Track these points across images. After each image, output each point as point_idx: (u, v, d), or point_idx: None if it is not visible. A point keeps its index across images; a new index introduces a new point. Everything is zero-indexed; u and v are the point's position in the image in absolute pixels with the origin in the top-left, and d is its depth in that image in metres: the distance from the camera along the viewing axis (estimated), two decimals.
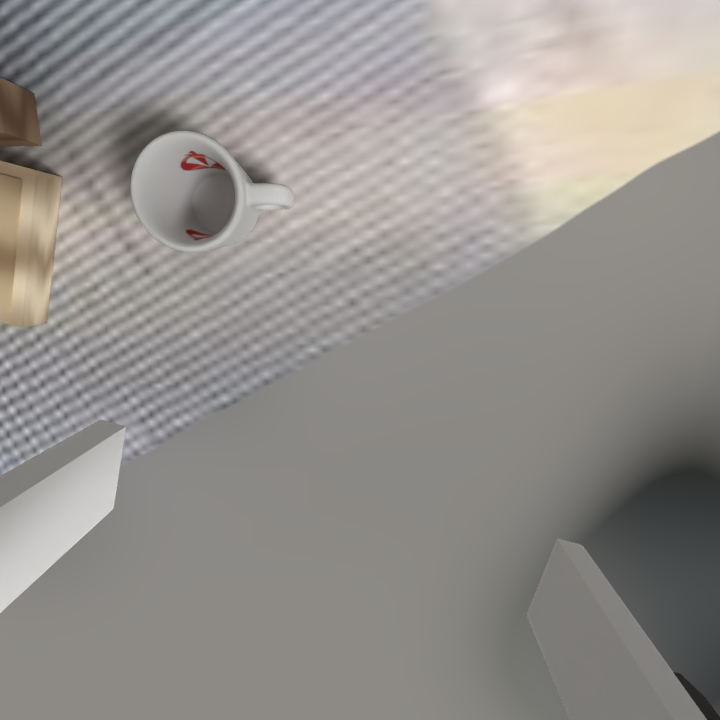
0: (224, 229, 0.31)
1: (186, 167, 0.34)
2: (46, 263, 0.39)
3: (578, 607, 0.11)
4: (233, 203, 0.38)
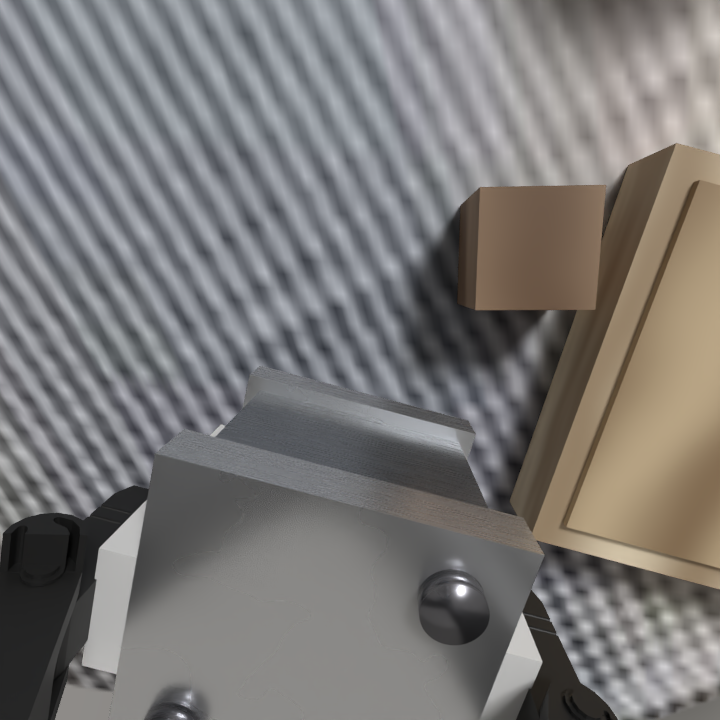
0: None
1: None
2: None
3: None
4: None
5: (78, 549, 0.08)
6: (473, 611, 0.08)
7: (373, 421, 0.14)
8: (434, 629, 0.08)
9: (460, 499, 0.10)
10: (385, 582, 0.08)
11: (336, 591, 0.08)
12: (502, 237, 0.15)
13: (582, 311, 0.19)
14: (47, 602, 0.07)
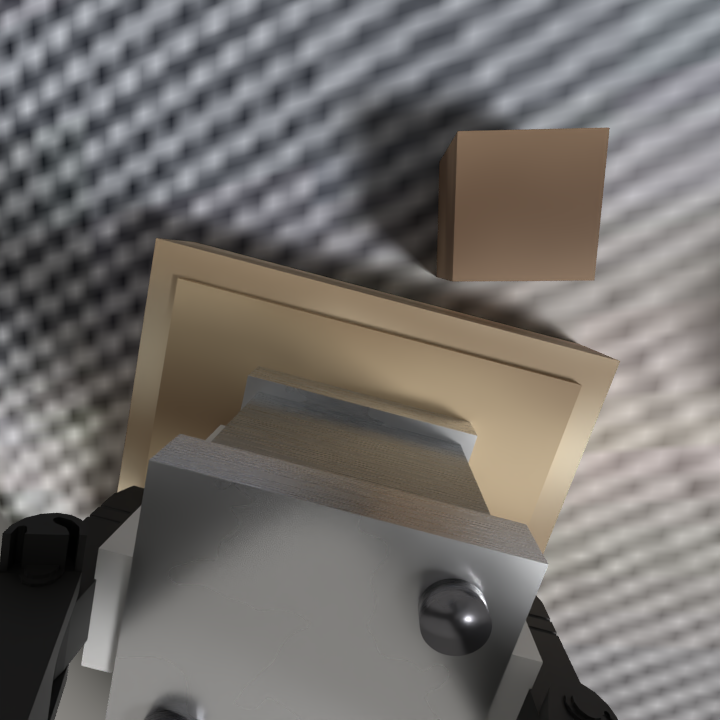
0: None
1: None
2: None
3: None
4: None
5: (78, 549, 0.08)
6: (475, 622, 0.08)
7: (373, 423, 0.13)
8: (434, 639, 0.08)
9: (462, 504, 0.10)
10: (385, 591, 0.08)
11: (335, 600, 0.08)
12: (546, 160, 0.12)
13: (429, 305, 0.17)
14: (47, 602, 0.07)
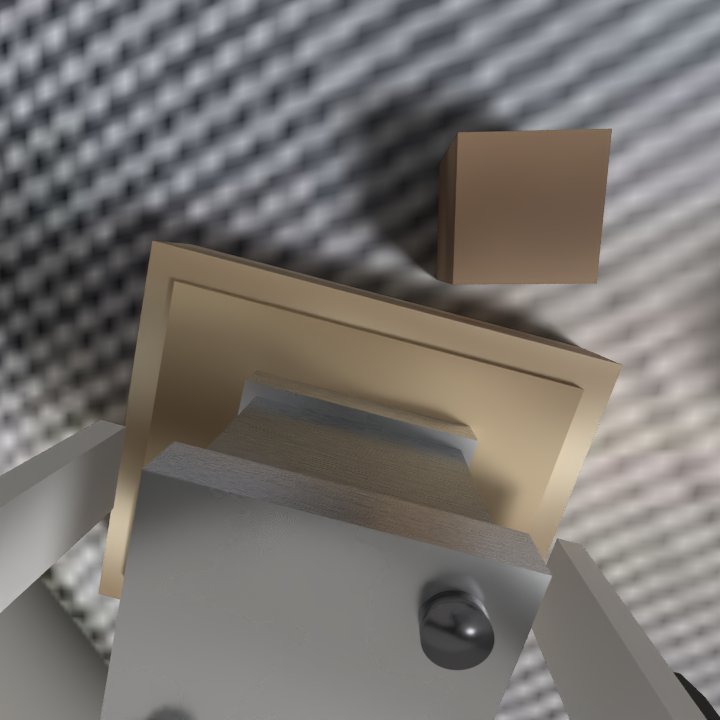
0: None
1: None
2: None
3: (579, 607, 0.11)
4: None
5: None
6: (477, 635, 0.07)
7: (372, 428, 0.13)
8: (435, 654, 0.07)
9: (462, 512, 0.10)
10: (384, 603, 0.08)
11: (333, 612, 0.08)
12: (547, 162, 0.12)
13: (428, 308, 0.16)
14: None
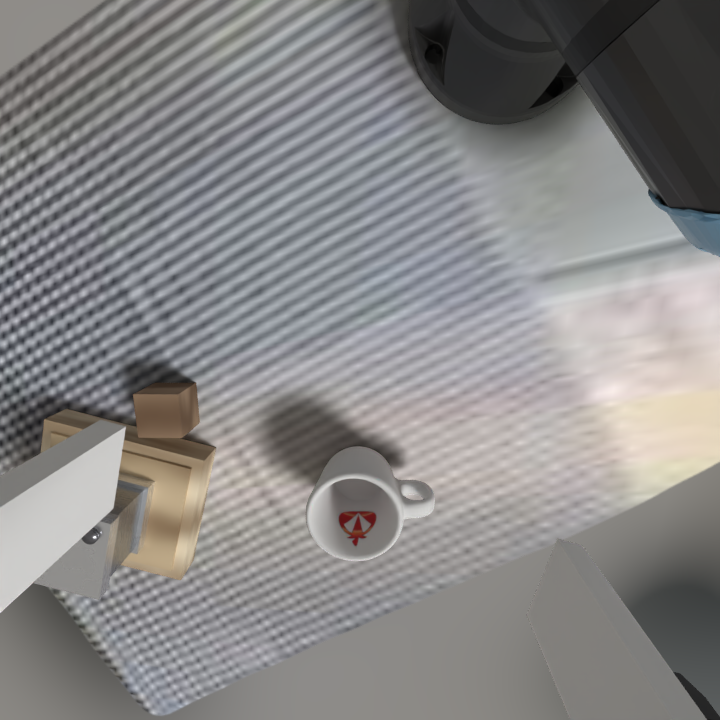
0: (384, 545, 0.37)
1: None
2: (199, 519, 0.45)
3: (579, 607, 0.11)
4: None
5: None
6: (92, 536, 0.35)
7: None
8: (85, 540, 0.35)
9: (113, 510, 0.37)
10: None
11: None
12: (161, 403, 0.39)
13: None
14: None
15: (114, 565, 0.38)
